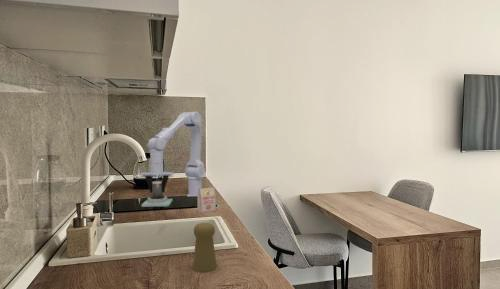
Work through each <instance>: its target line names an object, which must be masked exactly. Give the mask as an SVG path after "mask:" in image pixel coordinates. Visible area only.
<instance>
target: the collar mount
mask: <svg viewBox="0 0 500 289" xmlns="http://www.w3.org/2000/svg"><path fill="white" fill-rule="evenodd" d="M147 199H148V203H153V204H155V203H164V202H167V199H168V196H167V195H163V198H160V199H152V195H151V196H148V197H147Z"/></svg>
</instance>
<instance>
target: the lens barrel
mask: <svg viewBox="0 0 500 289" xmlns="http://www.w3.org/2000/svg"><path fill="white" fill-rule="evenodd" d="M151 196H152V199H160V198H163V196H164V192H162V180H152V193H151Z"/></svg>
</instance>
